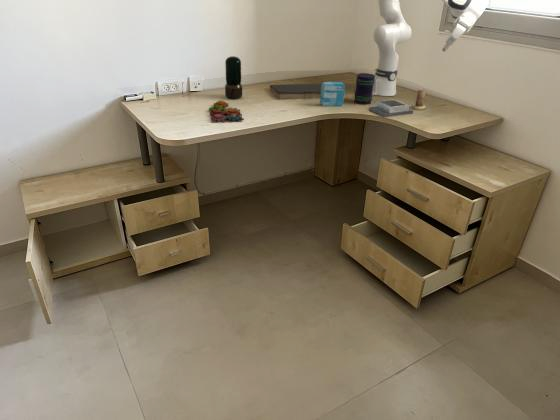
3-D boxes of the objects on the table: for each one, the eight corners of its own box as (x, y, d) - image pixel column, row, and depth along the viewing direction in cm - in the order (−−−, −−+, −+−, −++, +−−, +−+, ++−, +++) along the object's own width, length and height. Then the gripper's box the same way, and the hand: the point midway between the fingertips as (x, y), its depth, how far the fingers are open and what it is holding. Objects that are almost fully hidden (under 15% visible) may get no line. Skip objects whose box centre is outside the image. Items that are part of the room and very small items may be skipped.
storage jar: (374, 102, 241) (378, 75, 234) (364, 105, 235) (368, 78, 227) (360, 98, 247) (363, 72, 239) (350, 101, 241) (353, 74, 233)
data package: (321, 106, 231) (323, 83, 225) (319, 104, 235) (321, 81, 229) (343, 106, 233) (345, 83, 227) (340, 103, 237) (343, 81, 231)
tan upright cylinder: (409, 107, 236) (412, 88, 231) (418, 105, 239) (422, 87, 234) (417, 110, 230) (421, 92, 225) (427, 109, 233) (431, 90, 228)
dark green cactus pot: (223, 95, 242) (222, 55, 232) (240, 94, 245) (239, 54, 234) (227, 100, 235) (226, 58, 224) (244, 99, 237) (243, 58, 226)
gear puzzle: (207, 105, 227) (206, 97, 225) (237, 104, 230) (237, 97, 228) (211, 124, 201) (210, 115, 199) (245, 123, 204) (245, 114, 202)
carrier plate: (368, 109, 228) (370, 101, 226) (397, 106, 236) (398, 98, 233) (384, 117, 218) (385, 108, 216) (412, 113, 226) (414, 104, 223)
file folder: (279, 93, 237) (269, 83, 258) (279, 100, 239) (269, 90, 260) (335, 91, 245) (321, 82, 265) (334, 98, 247) (321, 88, 267)
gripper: (454, 25, 225) (436, 48, 229) (460, 18, 205) (441, 44, 210) (464, 31, 224) (446, 55, 229) (471, 25, 205) (451, 51, 210)
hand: (444, 50), depth 219 cm, fingers open, 8 cm apart
